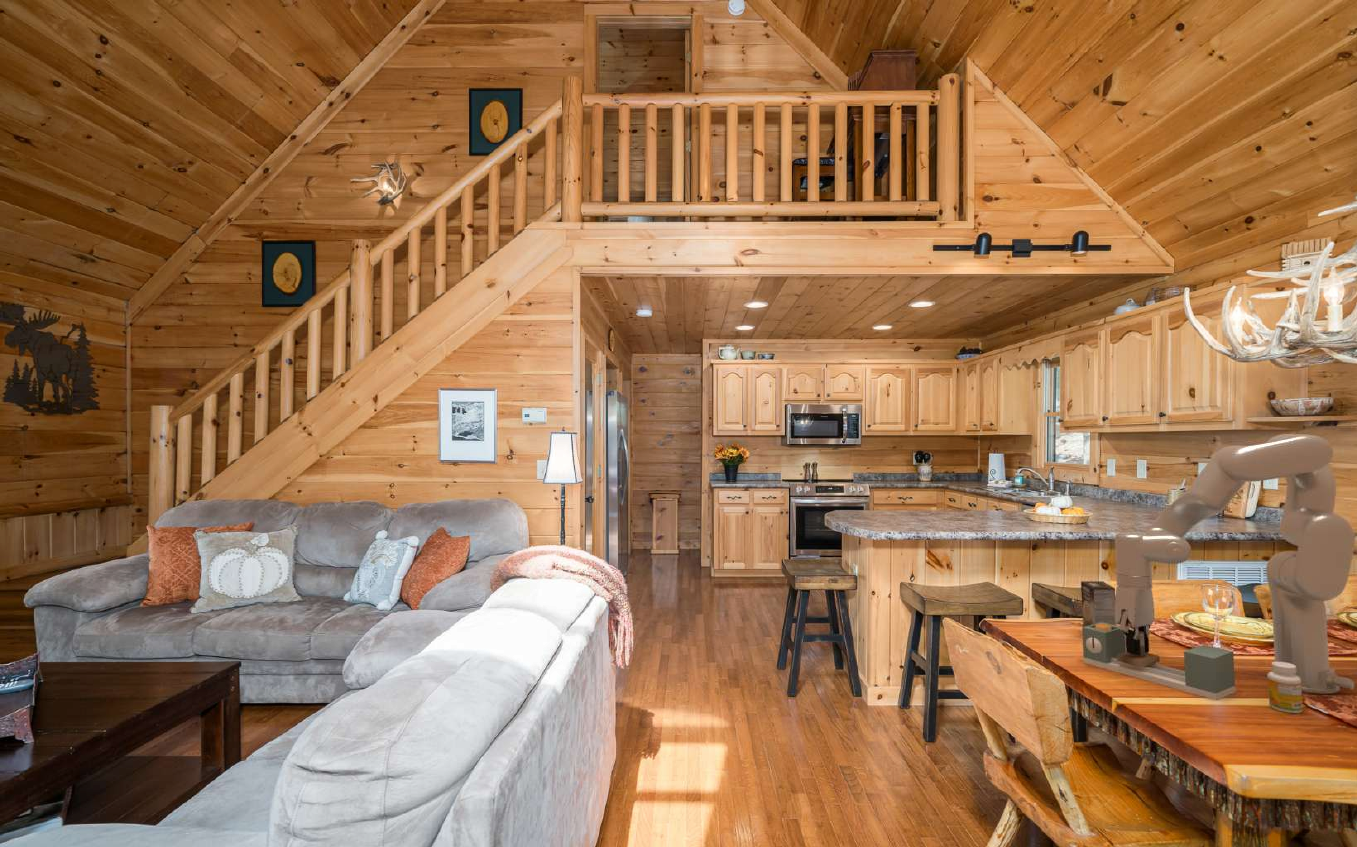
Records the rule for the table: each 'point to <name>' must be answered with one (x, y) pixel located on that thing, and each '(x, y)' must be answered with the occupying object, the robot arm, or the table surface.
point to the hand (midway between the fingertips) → (1137, 651)
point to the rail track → (1158, 676)
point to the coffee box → (1097, 603)
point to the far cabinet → (1103, 643)
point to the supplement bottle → (1285, 688)
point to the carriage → (1141, 659)
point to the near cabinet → (1209, 668)
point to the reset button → (1103, 627)
